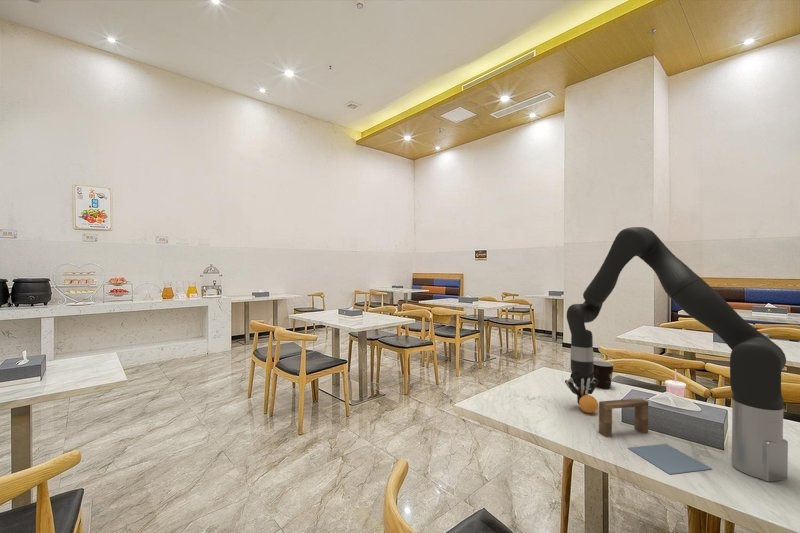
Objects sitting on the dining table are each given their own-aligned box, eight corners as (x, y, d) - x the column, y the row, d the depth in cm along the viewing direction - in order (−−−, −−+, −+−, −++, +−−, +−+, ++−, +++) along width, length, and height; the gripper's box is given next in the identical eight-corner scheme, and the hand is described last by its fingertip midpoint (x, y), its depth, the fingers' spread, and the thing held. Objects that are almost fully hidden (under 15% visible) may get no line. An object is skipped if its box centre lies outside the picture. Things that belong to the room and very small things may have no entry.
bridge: (648, 432, 112) (648, 401, 112) (606, 437, 109) (606, 405, 109) (639, 428, 115) (640, 398, 115) (598, 432, 112) (599, 401, 112)
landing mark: (712, 469, 92) (712, 468, 92) (669, 474, 90) (669, 473, 90) (665, 444, 105) (665, 443, 105) (627, 448, 103) (627, 447, 103)
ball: (601, 415, 125) (602, 398, 125) (586, 416, 124) (587, 399, 124) (589, 407, 131) (590, 391, 131) (574, 408, 130) (575, 392, 130)
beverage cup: (690, 409, 130) (690, 371, 130) (675, 411, 129) (676, 372, 129) (674, 403, 136) (675, 366, 136) (660, 404, 135) (661, 367, 135)
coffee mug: (601, 382, 160) (601, 360, 160) (618, 388, 152) (618, 365, 152) (580, 385, 156) (580, 362, 156) (596, 391, 148) (597, 367, 148)
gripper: (572, 361, 127) (572, 411, 127) (605, 359, 129) (605, 408, 129) (559, 356, 134) (559, 403, 134) (590, 354, 136) (591, 400, 136)
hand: (582, 405), depth 132 cm, fingers closed
